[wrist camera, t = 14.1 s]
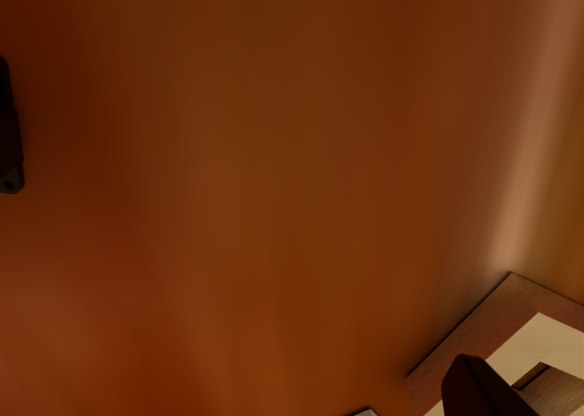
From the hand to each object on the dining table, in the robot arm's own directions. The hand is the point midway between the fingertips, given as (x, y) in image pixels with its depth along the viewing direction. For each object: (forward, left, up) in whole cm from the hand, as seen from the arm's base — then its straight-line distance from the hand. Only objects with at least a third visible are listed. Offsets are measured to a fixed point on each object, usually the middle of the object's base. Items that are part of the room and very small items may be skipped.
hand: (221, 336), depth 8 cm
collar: (+18, -13, -13) cm, 26 cm away
